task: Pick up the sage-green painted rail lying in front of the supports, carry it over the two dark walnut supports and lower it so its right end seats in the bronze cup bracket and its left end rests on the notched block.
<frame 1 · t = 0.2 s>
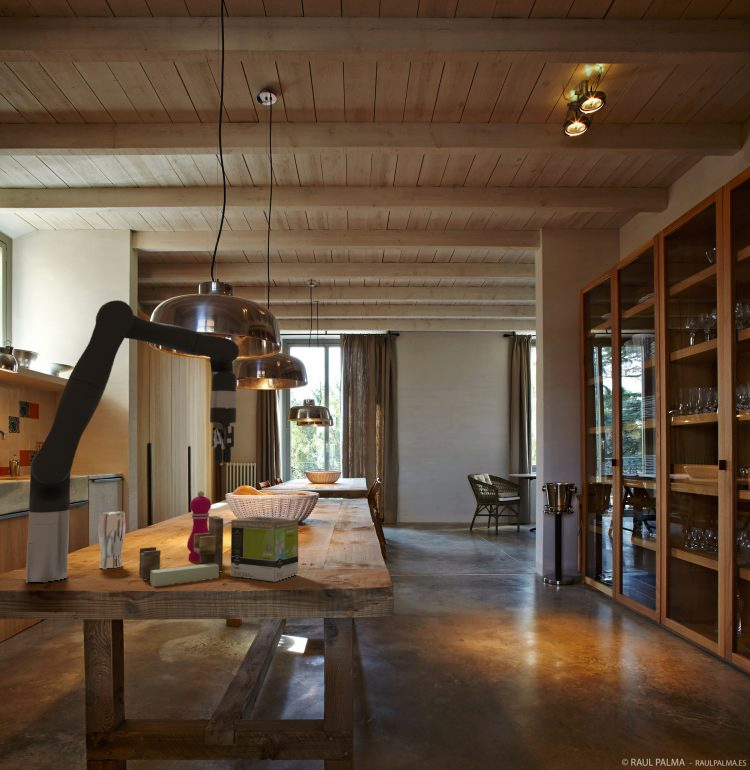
hand: (222, 462, 180), 29 cm above the table, tool pointing down, fingers open, 8 cm apart
cup bracket: (215, 569, 166), on the table
tea box: (264, 577, 158), on the table
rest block: (149, 577, 158), on the table
rail: (185, 582, 153), on the table
beer glass: (110, 567, 171), on the table
pepper mill: (199, 560, 181), on the table
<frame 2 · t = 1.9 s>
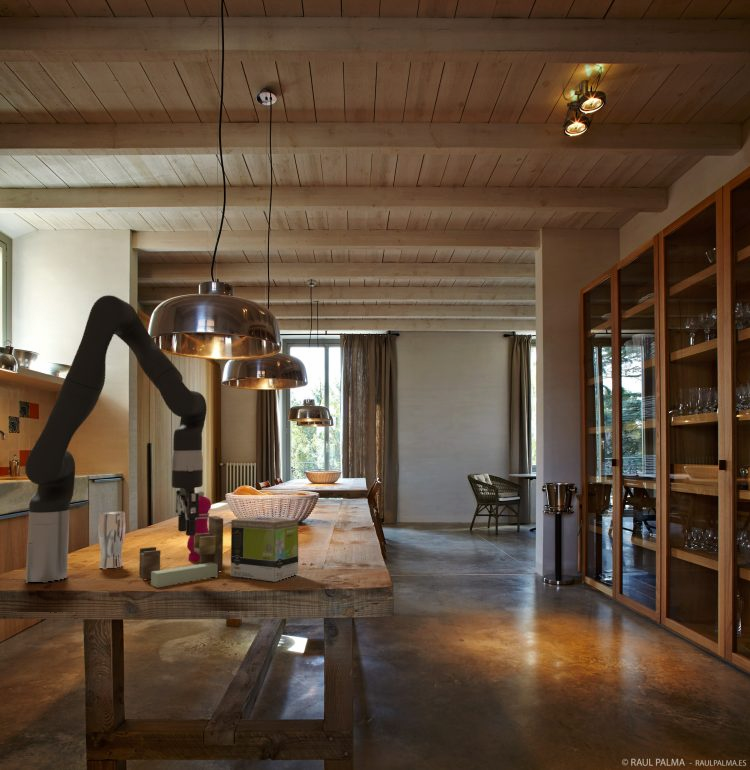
hand: (186, 533, 155), 12 cm above the table, tool pointing down, fingers open, 8 cm apart
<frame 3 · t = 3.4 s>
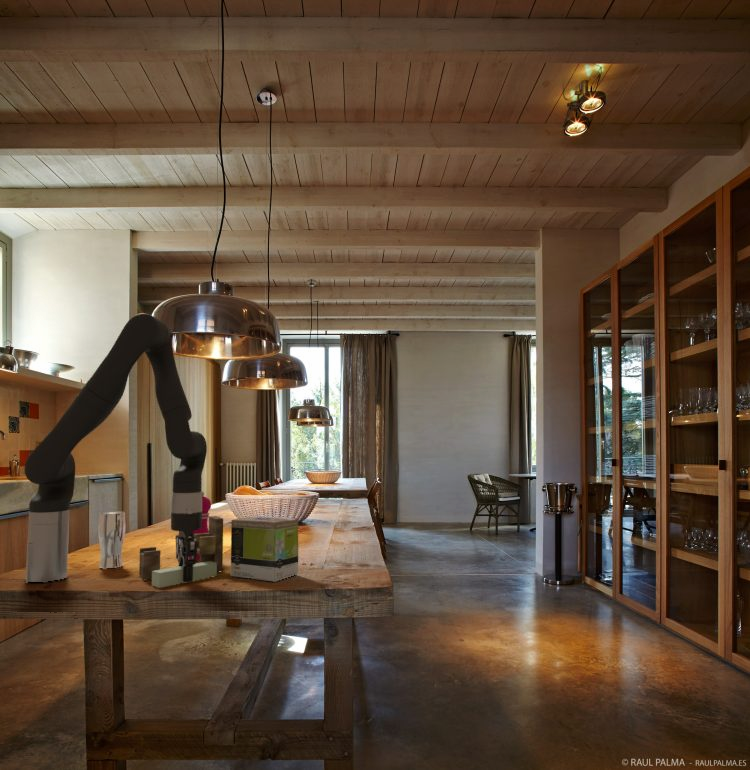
hand: (185, 579, 153), 0 cm above the table, tool pointing down, fingers closed on rail, 4 cm apart
rail: (185, 581, 153), on the table, touching gripper
everything else where it was.
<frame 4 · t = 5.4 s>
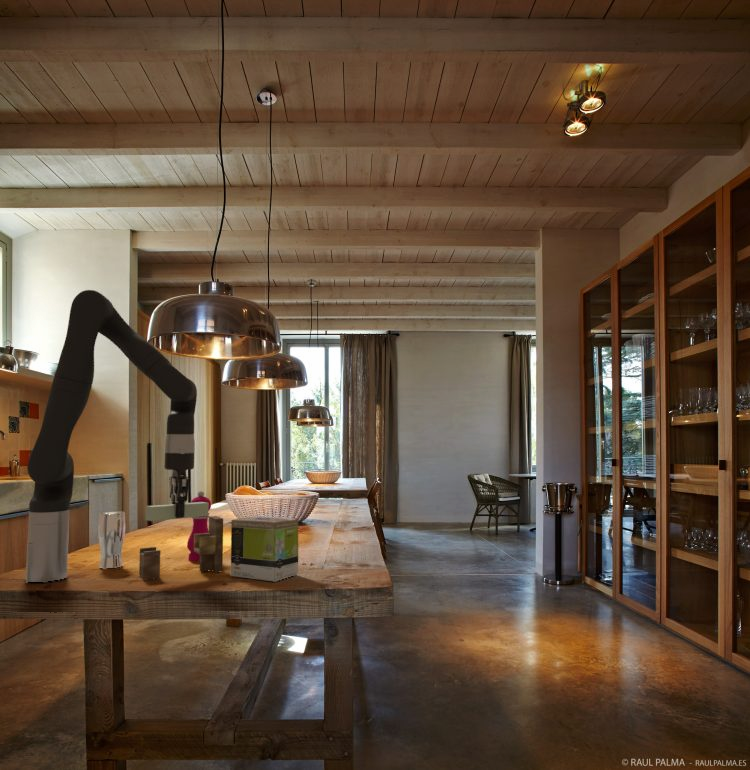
hand: (177, 516, 162), 15 cm above the table, tool pointing down, fingers closed on rail, 4 cm apart
rail: (177, 517, 162), point 15 cm above the table, touching gripper
everything else where it was.
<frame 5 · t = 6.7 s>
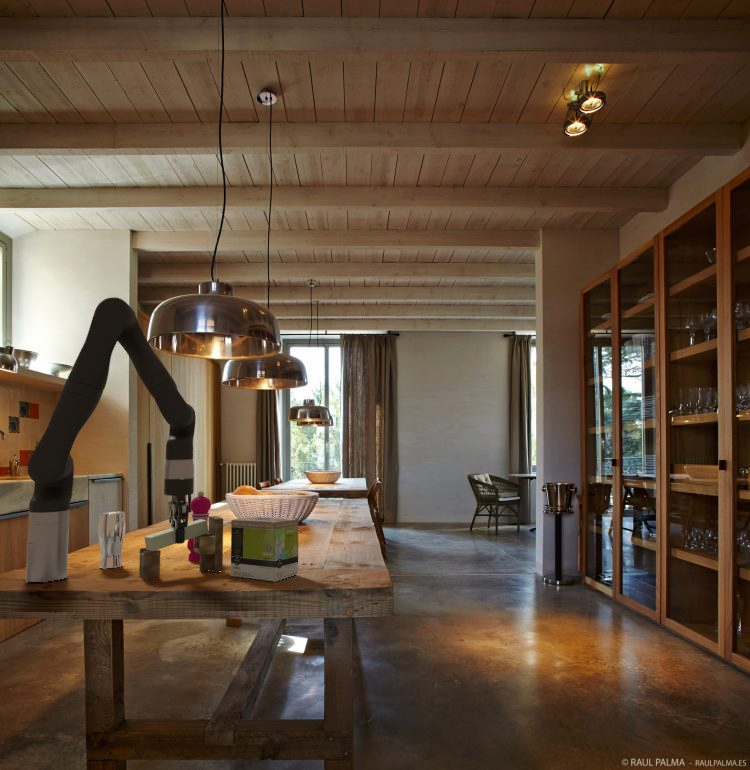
hand: (177, 541, 162), 8 cm above the table, tool pointing down, fingers closed on rail, 4 cm apart
rail: (178, 541, 162), point 8 cm above the table, tilted 11°, touching cup bracket, gripper
everything else where it was.
when the fingers open (7 cm above the table, at t = 7.3 s): rail stays where it is, resting on cup bracket, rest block.
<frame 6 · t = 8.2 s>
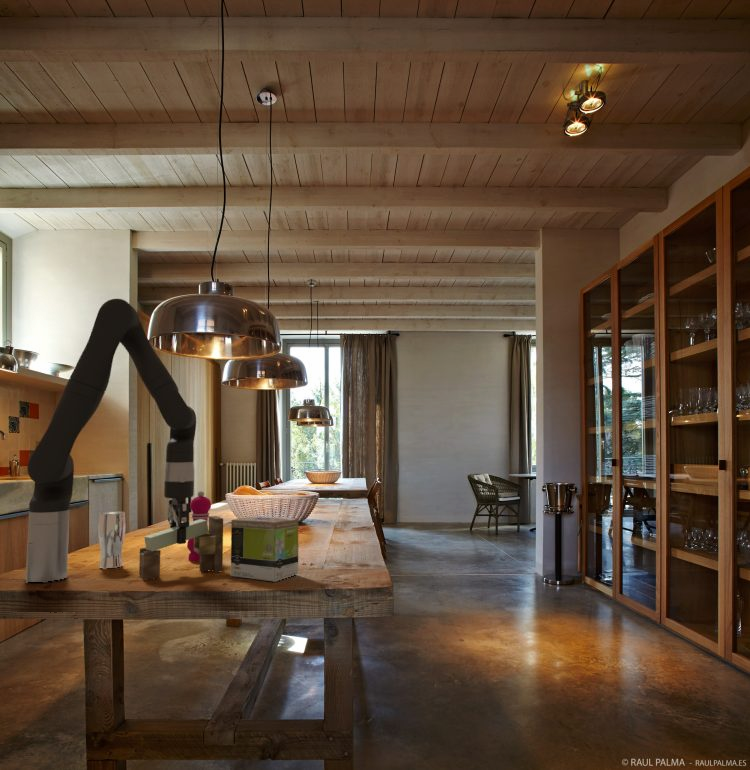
hand: (177, 541, 162), 8 cm above the table, tool pointing down, fingers open, 8 cm apart
rail: (178, 541, 162), point 8 cm above the table, tilted 11°, touching cup bracket, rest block
everything else where it was.
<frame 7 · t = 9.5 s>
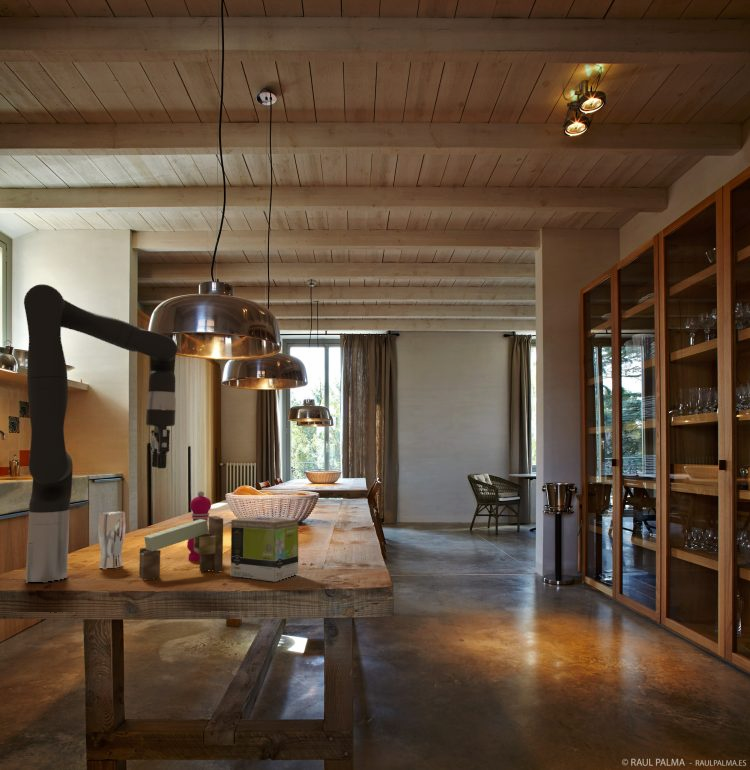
hand: (158, 467, 168), 28 cm above the table, tool pointing down, fingers open, 8 cm apart
nothing on the table moved.
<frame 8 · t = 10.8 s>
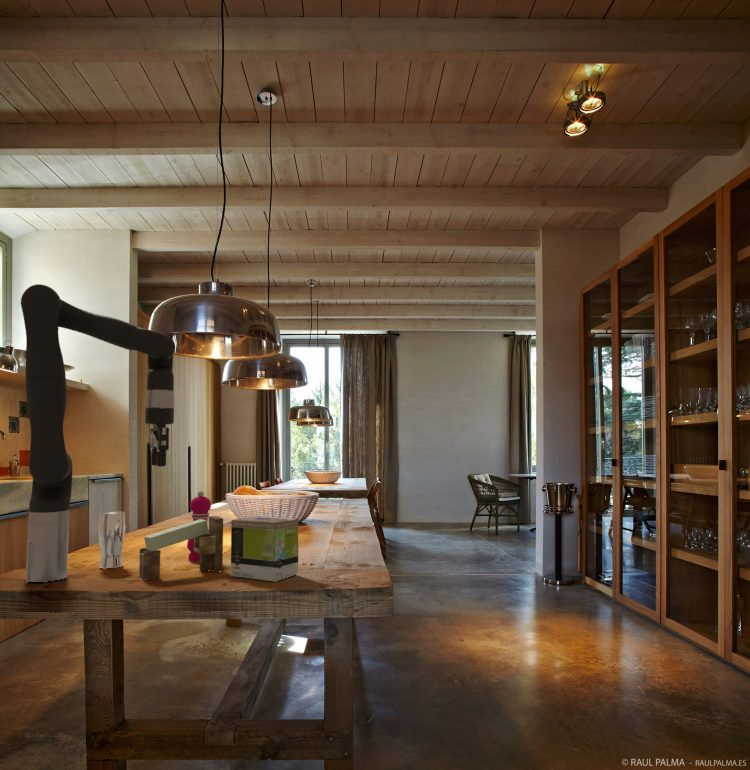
hand: (158, 465, 169), 28 cm above the table, tool pointing down, fingers open, 8 cm apart
nothing on the table moved.
at the end: rail 0.2 cm from the target spot, point 8.5 cm above the table; rail touching cup bracket, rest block; rail tilted 11° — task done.
